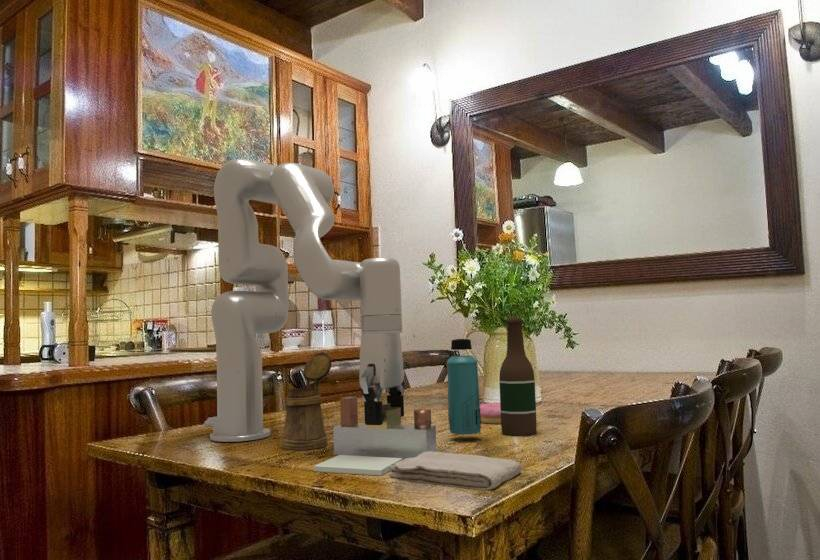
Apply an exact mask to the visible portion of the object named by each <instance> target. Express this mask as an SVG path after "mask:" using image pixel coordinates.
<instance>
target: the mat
mask: <svg viewBox="0 0 820 560" xmlns="http://www.w3.org/2000/svg"><path fill="white" fill-rule="evenodd" d="M402 460H404V458H389V457H370V456H352V455H335V456H333V457H331V458H328V459H326V460H325V461H322V462H320V463H316V464H314V465H313V466H312V470H313V472H320V473H336V474H353V475H365V476H366V475H367V476H383V475H385V474H386V473H389V472H391V470H390V466H391V465H395V463H397V462H400V461H402Z"/></svg>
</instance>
